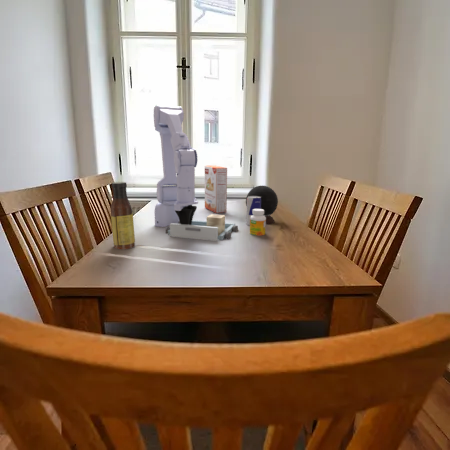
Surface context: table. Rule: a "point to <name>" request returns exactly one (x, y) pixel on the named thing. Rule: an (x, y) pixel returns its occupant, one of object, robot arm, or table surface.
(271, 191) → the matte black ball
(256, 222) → the supplement bottle
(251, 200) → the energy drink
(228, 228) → the truck bed
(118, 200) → the sauce bottle
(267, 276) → the table surface
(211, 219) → the light wooden block
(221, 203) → the cracker box
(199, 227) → the tailgate
